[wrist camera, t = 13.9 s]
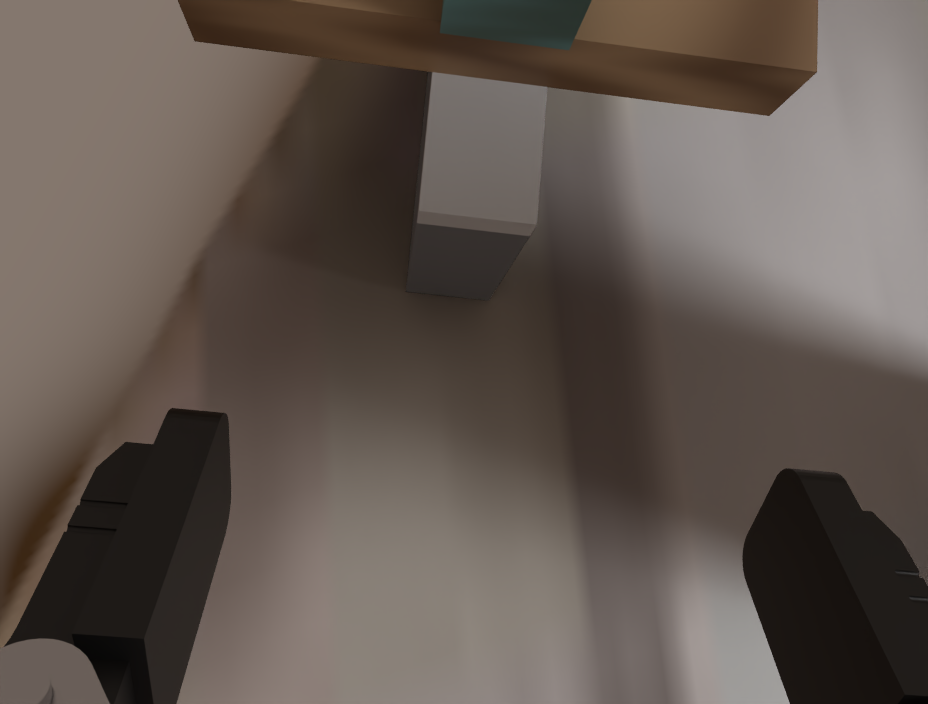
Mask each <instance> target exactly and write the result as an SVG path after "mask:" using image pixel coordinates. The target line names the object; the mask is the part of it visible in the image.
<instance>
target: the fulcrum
mask: <svg viewBox="0 0 928 704" xmlns="http://www.w3.org/2000/svg"><path fill="white" fill-rule="evenodd" d="M546 99H547V87H543V86H536V85H528V84H520V83H513V82H505V81H497V80H490V79H482V78H474V77H466V76H459V75H451V74H443V73H436V72H428V75H427V85H426V95H425V105H424V115H423V125H422V135H421V145H420V155H419V165H418V175H417V185H416V194H415V204H414V214H413V224H412V234H411V244H410V254H409V264H408V274H407V284H406V292H415V293H424V294H433V295H443V296H452V297H461V298H470V299H479V300H489V299H490V298H491V296H492V295H493V293H494V291H495V290H496V288H497V287H498V285H499V284H500V282H501V281H502V279H503V277H504V276H505V274H506V273H507V271H508V270H509V268H510V266H511V265H512V263H513V262H514V260H515V259H516V257H517V255H518V254H519V252H520V251H521V249H522V248H523V246H524V244H525V243H526V241H527V240H528V238H529V237H530V235H531V233H532V232H533V230H534V229H535V227H536V226H537V219H538V206H539V192H540V179H541V166H542V152H543V139H544V125H545V112H546Z"/></svg>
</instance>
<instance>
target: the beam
mask: <svg viewBox="0 0 928 704" xmlns="http://www.w3.org/2000/svg"><path fill="white" fill-rule="evenodd" d="M178 2H179V4H180V7H181V9H182V12H183V14H184V17H185V19H186V21H187V24H188V26H189V29H190V31H191V33H192V36H193V38H194V40H195V41H198V42H205V43H213V44H220V45H228V46H236V47H243V48H252V49H259V50H266V51H274V52H282V53H289V54H298V55H305V56H313V57H320V58H328V59H336V60H343V61H351V62H359V63H366V64H374V65H382V66H390V67H397V68H405V69H413V70H420V71H428V72H436V73H443V74H451V75H459V76H466V77H474V78H482V79H490V80H497V81H505V82H513V83H520V84H528V85H536V86H543V87H551V88H559V89H567V90H574V91H582V92H590V93H597V94H605V95H613V96H620V97H628V98H636V99H643V100H651V101H659V102H667V103H674V104H682V105H690V106H697V107H705V108H713V109H720V110H728V111H736V112H744V113H751V114H759V115H767V116H770V115H771V114H772V113H773V112H774V111H775V110H776V109H777V108H778V107H779V106H781V105H782V104H783V103H784V102H785V101H786V100H787V99H788V98H789V97H790V96H791V95H792V94H794V93H795V92H796V91H797V90H798V89H799V88H800V87H801V86H802V85H803V84H804V83H806V82H807V81H808V80H809V79H810V78H811V77H812V76H813V75H814V74H815V73H816V72H817V34H818V0H178Z"/></svg>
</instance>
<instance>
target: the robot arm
mask: <svg viewBox="0 0 928 704" xmlns="http://www.w3.org/2000/svg"><path fill="white" fill-rule="evenodd" d="M230 504H231V472H230V446H229V423H228V417H227V414H226V413H218V412H208V411H197V410H187V409H176V408H172V409H170V410H169V411H168V413H167V414H166V416H165V419H164V421H163V423H162V426H161V428H160V430H159V433H158V435H157V437H156V440H155V442H154V444H142V443H131V442H125V443H124V444H123V445H122V446H121V447H119V448H118V449H117V450H116V451H115V452H114V453H112V454H111V455H110V456H109V457H108V458H107V459H106V460H104V461H103V462H102V463H101V464H100V465H99V466H98V467H96V469H95V471H94V473H93V475H92V477H91V479H90V481H89V483H88V485H87V487H86V489H85V491H84V493H83V495H82V497H81V502H80V505H77V507H76V509H75V511H74V513H73V515H72V517H71V519H70V521H69V523H68V529H67V532H64V533H63V535H62V537H61V539H60V541H59V543H58V545H57V547H56V549H55V551H54V553H53V555H52V557H51V559H50V561H49V563H48V565H47V567H46V569H45V571H44V573H43V575H42V577H41V580H40V582H39V584H38V586H37V588H36V590H35V592H34V594H33V596H32V598H31V600H30V602H29V604H28V606H27V608H26V610H25V612H24V614H23V616H22V618H21V620H20V622H19V624H18V626H17V628H16V629H15V631H14V633H13V635H12V636H11V638H10V639H9V641H8V642H7V643H6V644H5V646H4V647H2V648H0V704H176V703H177V700H178V696H179V693H180V689H181V686H182V682H183V679H184V675H185V672H186V669H187V665H188V662H189V658H190V655H191V651H192V648H193V644H194V641H195V637H196V634H197V631H198V627H199V624H200V620H201V617H202V613H203V610H204V606H205V603H206V599H207V596H208V592H209V589H210V586H211V582H212V579H213V575H214V572H215V568H216V565H217V561H218V558H219V554H220V551H221V548H222V544H223V541H224V537H225V533H226V529H227V525H228V519H229V512H230ZM743 571H744V576H745V579H746V582H747V585H748V588H749V591H750V594H751V596H752V599H753V602H754V605H755V608H756V610H757V613H758V616H759V619H760V621H761V624H762V627H763V630H764V633H765V635H766V638H767V641H768V644H769V647H770V649H771V652H772V655H773V658H774V660H775V663H776V666H777V669H778V672H779V674H780V677H781V680H782V683H783V685H784V688H785V691H786V694H787V697H788V699H789V702H790V704H928V586H927V584H926V583H925V581H924V579H923V578H919V570H918V569H917V567H916V565H915V563H914V562H913V560H912V558H911V557H910V555H909V553H908V551H907V550H906V548H905V546H904V544H903V543H902V541H901V540H900V539H899V538H898V537H897V536H896V535H895V534H894V533H893V532H892V531H891V530H890V529H889V528H888V527H887V526H886V525H885V524H884V523H883V522H882V521H881V520H880V519H879V518H878V517H877V516H876V515H875V514H874V513H873V512H870V511H862V510H861V508H860V506H859V504H858V502H857V500H856V499H855V497H854V495H853V493H852V491H851V489H850V488H849V486H848V484H847V482H846V481H845V479H844V478H843V477H842V476H841V475H839V474H837V473H832V472H821V471H810V470H800V469H784V470H782V471H781V472H780V473H779V474H778V475H777V477H776V479H775V481H774V483H773V485H772V487H771V489H770V491H769V493H768V495H767V497H766V499H765V501H764V502H763V504H762V506H761V508H760V510H759V512H758V514H757V516H756V518H755V520H754V522H753V524H752V526H751V528H750V530H749V532H748V534H747V537H746V539H745V543H744V548H743Z"/></svg>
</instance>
